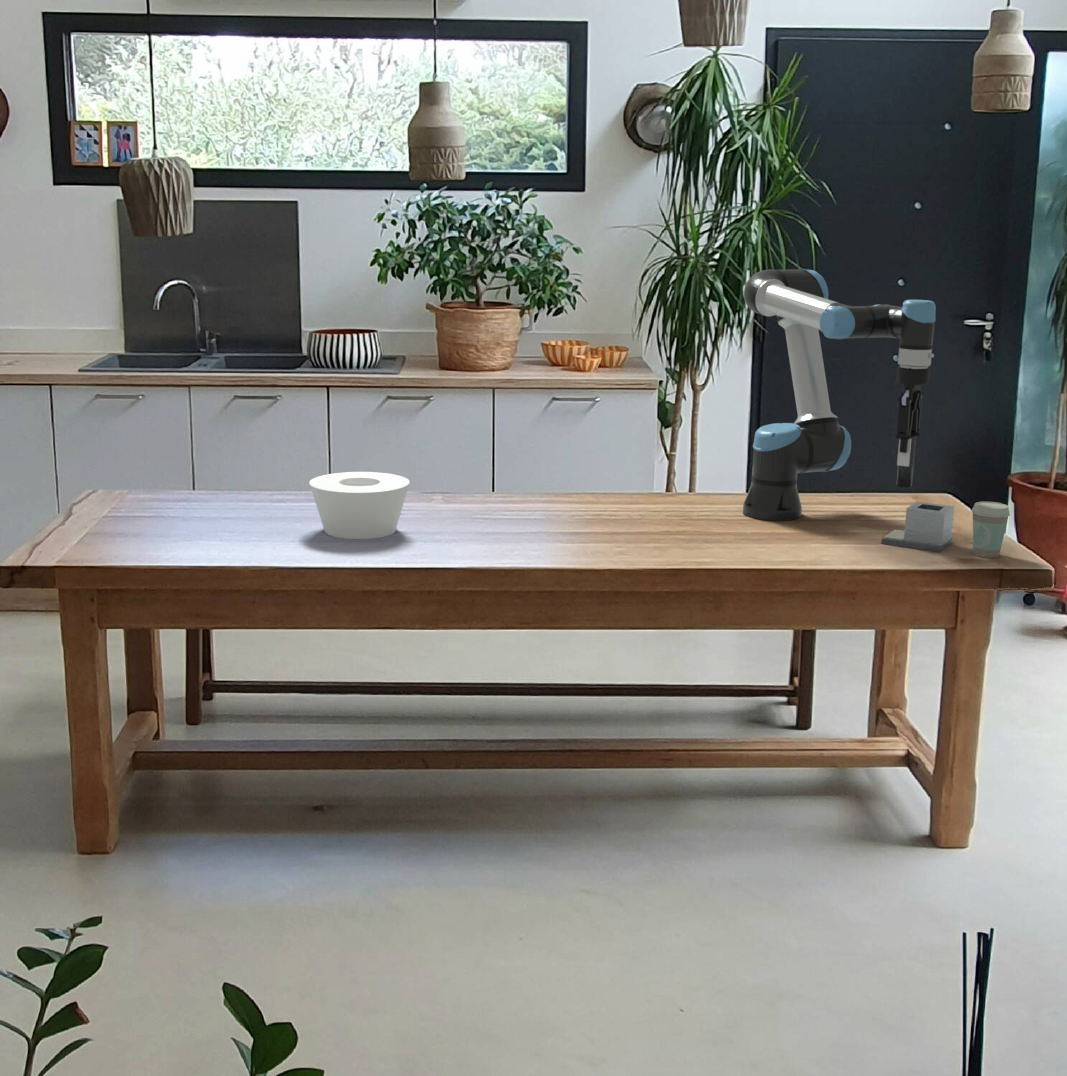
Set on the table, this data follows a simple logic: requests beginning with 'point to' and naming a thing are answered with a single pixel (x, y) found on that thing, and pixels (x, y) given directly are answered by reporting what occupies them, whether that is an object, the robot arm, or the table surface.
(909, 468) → the black tapered cylinder
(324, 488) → the white tapered cylinder
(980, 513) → the coffee cup
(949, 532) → the square frame housing
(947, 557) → the table surface
